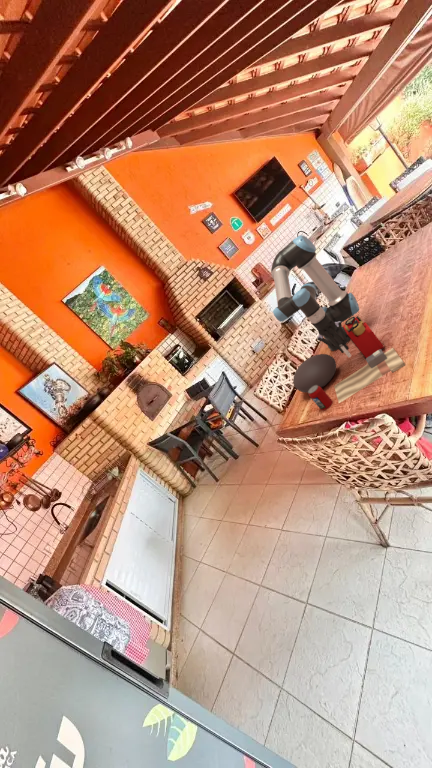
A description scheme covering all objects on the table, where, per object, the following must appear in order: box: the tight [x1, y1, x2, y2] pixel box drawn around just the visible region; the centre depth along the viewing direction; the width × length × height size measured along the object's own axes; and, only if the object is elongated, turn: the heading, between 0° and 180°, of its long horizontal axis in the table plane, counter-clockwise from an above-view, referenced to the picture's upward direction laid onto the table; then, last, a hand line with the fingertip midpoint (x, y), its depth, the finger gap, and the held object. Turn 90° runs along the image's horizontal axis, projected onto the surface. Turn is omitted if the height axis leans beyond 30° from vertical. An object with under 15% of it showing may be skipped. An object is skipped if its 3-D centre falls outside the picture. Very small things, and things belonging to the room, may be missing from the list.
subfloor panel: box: [333, 347, 406, 404], centre depth 177 cm, size 18×32×1 cm, turn 77°
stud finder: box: [365, 349, 387, 368], centre depth 178 cm, size 5×8×4 cm, turn 77°
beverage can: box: [307, 385, 334, 411], centre depth 180 cm, size 7×7×12 cm
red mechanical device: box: [342, 315, 385, 360], centre depth 190 cm, size 16×10×20 cm, turn 168°
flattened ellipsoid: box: [292, 353, 337, 393], centre depth 203 cm, size 25×25×15 cm
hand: (349, 355), depth 180 cm, fingers closed
